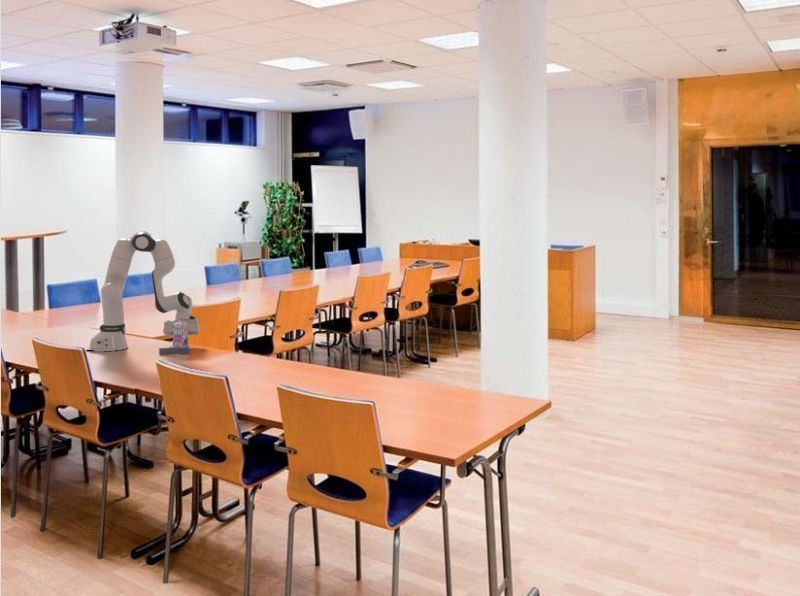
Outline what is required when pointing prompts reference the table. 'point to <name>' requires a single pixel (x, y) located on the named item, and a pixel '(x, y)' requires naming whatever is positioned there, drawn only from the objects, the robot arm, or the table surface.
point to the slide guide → (174, 350)
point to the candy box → (180, 334)
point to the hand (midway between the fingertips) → (180, 340)
